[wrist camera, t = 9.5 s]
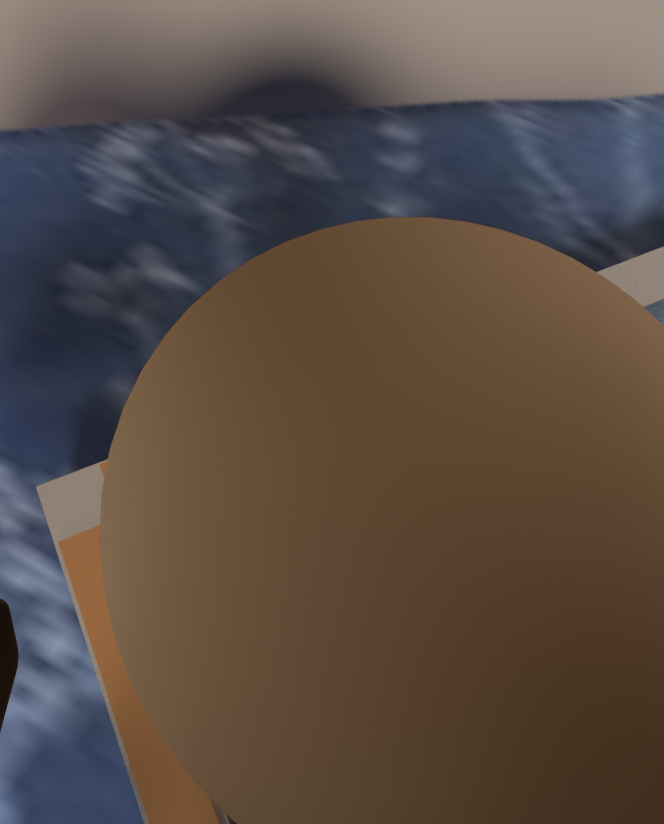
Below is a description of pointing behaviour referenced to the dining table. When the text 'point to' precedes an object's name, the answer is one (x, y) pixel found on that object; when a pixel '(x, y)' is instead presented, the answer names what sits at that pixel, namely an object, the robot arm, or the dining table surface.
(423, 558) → the wooden peg
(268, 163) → the dining table surface
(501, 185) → the dining table surface
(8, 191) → the dining table surface
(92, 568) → the compartment tray
